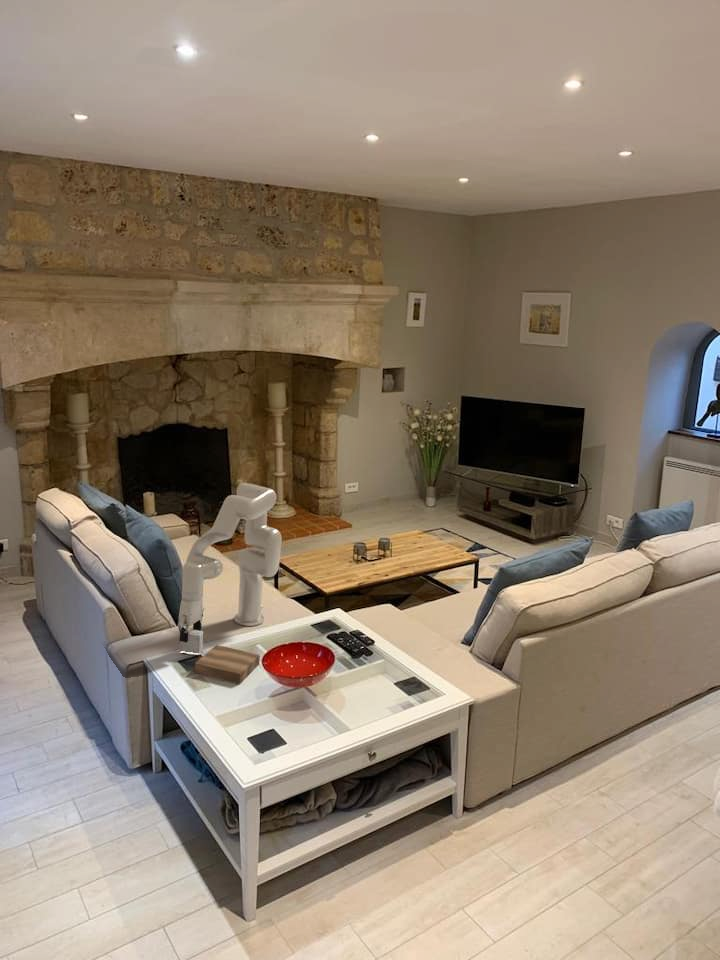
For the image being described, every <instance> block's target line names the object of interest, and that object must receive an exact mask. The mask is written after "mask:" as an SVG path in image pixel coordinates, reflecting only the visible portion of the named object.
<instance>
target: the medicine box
mask: <svg viewBox="0 0 720 960" xmlns="http://www.w3.org/2000/svg"><path fill="white" fill-rule="evenodd" d="M187 632H188V642H187V643H186V642H182V641H180V640H179V652H181V651H185V652H193V653H200V652H201V650H202V648H204V630H201V631H199V630H193V629H190V628H188V631H187Z"/></svg>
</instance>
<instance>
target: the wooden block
mask: <svg viewBox="0 0 720 960" xmlns="http://www.w3.org/2000/svg"><path fill="white" fill-rule="evenodd" d="M259 665H260V654H258V653H255V652H254V653H253V652H250V651H246V650H241V649H237V648H232V647H228V646H224V645H220V644H215V645H214V646H213V647H211V648H210V649H209V651H207V652H205V654H204V655H203V656H201V657H200V658H199V659H198V660H196V662H195V663H194V674H196V675H200V676H205V677H209V678H214V679H218V680H221V681H225V682H228V683H229V682H230V683H233V684H237V685H241V684H242V683H243V682H244V681H245V680H246V679H247V678H248V677H249V676H250V675H251V673H252V672H254V671H255V669H256V668H257V667H258V666H259Z"/></svg>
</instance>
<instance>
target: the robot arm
mask: <svg viewBox="0 0 720 960" xmlns="http://www.w3.org/2000/svg"><path fill="white" fill-rule="evenodd" d="M276 503H277V494H276V491H275V490H274V489H272V488H270V487H269V488H268V487H265V486H260V485H257V484H253V483H246V482H243V483H240V484H239V485H238V486H237V488H236V494H230V495H227V497H225V499H224V501H223V503H222V506H221V508H220V509H219V512H218V513H217V514H218V515H217V516H216V519H215V521H214V523H213V524H212V525H213V526H211V528H210V529H209V530H208V531H206V532H204V533H203V534H202V535H201V536H200V537H198V538H197V540H196V541H195V542H194V543H193V544H192V547H191V549H190V550H189V552H188V556H187V558H186V561H185V562H184V564H183V568H182V591H181V602H180V606H179V612H178V613H179V614H178V622H177V627H178V628H177V629H178V632H179V642H180V641H182V642H186V643H187V642H188V632H187V631H188V629H190V627H192V630H199V631H202V622H203V617H204V612H205V608H203V598H204V597H203V596H204V581H205V580H213V579H215V578H217V577H219V576H220V575H221V574H222V572H223V570H224V569H223V568H224V565H223V563H222V561H220V560H219V559H217V558H214V557H211V556H207V555H205V554H204V553H205V552H206V550H208V548H209V547H210V546H212V545H213V544H215V543H218V542H222V541H226V540H230V539H232V538H233V536H234V534H235V531H236V529H237V527H238V525H239V523H240V520H241V519H242V520H245V528H244V542H245V544H246V545H248V546H250V547H254V548H248V547H247V548H244V549H242V550H241V551H240V553H239V555H238V557H237V558H238V559H237V563H238V570H239V585H238V586H239V587H238V609H237V610H238V611H237V613H236V614H235V615H234V618H233V620H234V622H235V623H236V624H237V625H241V626H247V627H253V626H259V625H261V624H262V623H264V622H265V616H264V615H263V613H262V609H263V608H264V604H262V597H263V596H262V595H263V577H262V576H264V577H267V578H268V577H269V578H271V577H274V576H275V575H276V574H277V573H278V570H279V567H280V561H281V560H280V559H281V554H282V553H281V552H282V542H283V540H282V534H281V532H280V531H279V529H277V528H274V527H272V526H269V525H267V522H268V511H270V510H271V509H272V508H273V507H274V506H275V504H276ZM255 548H258V549H255ZM259 549H261V550H259Z"/></svg>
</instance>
